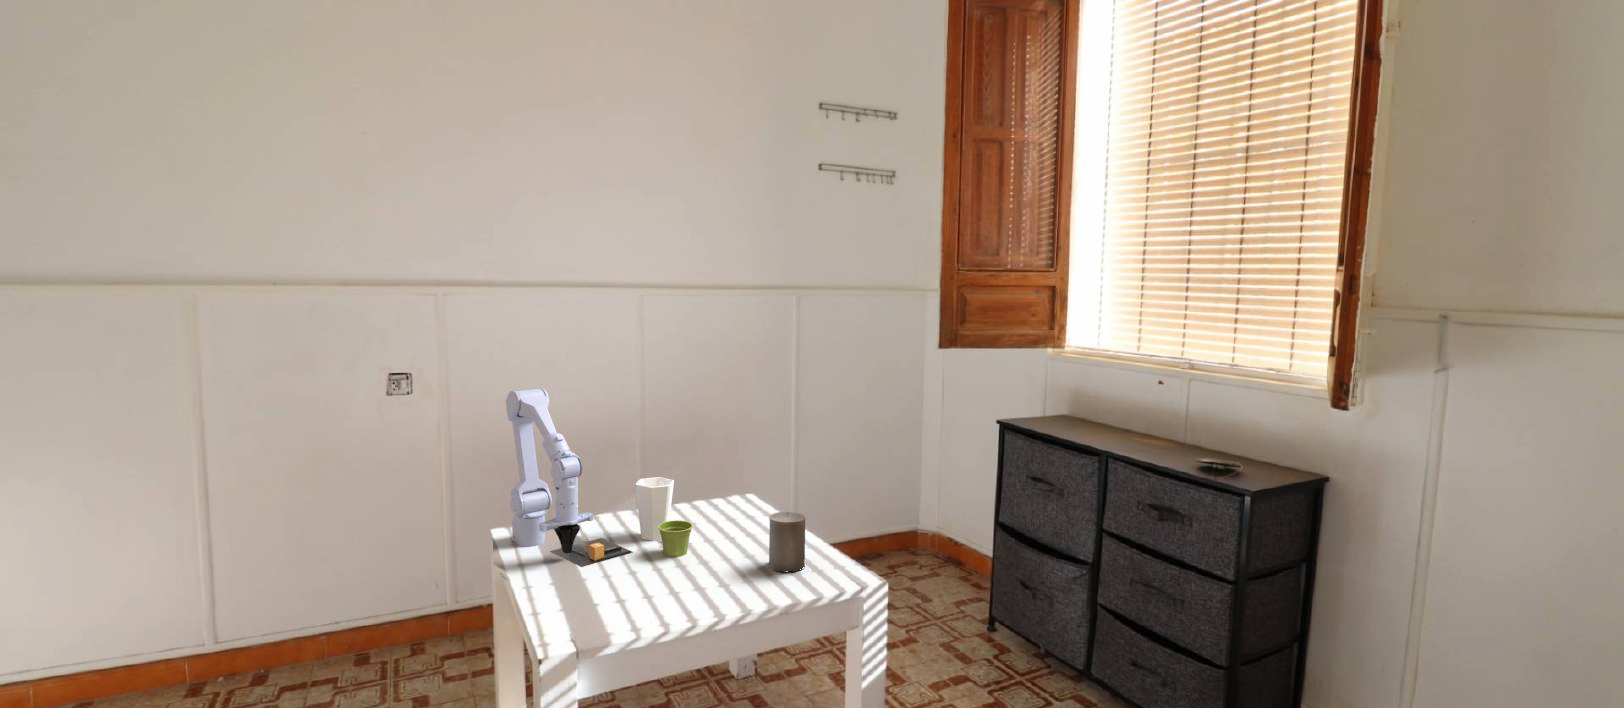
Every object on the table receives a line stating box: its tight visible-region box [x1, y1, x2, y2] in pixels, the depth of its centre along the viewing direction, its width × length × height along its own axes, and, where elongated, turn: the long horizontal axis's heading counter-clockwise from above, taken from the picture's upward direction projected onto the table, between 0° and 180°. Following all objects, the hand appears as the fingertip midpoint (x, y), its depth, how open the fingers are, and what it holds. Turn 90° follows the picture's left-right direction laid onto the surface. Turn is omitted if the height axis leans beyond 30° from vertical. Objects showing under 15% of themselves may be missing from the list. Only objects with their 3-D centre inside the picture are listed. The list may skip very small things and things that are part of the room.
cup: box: [634, 476, 675, 543], centre depth 229 cm, size 11×10×17 cm
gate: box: [572, 534, 589, 556], centre depth 215 cm, size 7×1×4 cm, turn 47°
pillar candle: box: [768, 511, 806, 572], centre depth 212 cm, size 10×10×15 cm
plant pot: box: [658, 519, 694, 558], centre depth 217 cm, size 9×9×9 cm
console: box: [549, 537, 634, 568], centre depth 216 cm, size 16×16×5 cm
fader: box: [589, 543, 604, 561], centre depth 211 cm, size 3×3×4 cm
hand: (566, 552), depth 210 cm, fingers closed
